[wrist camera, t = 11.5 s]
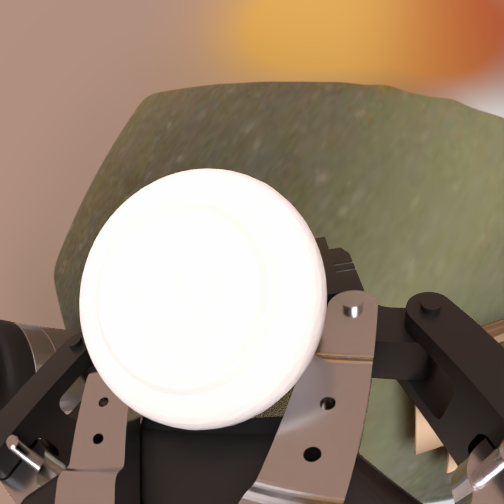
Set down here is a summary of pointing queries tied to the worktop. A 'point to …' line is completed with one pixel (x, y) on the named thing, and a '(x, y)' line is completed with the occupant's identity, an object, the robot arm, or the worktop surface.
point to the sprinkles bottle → (203, 299)
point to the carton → (423, 431)
